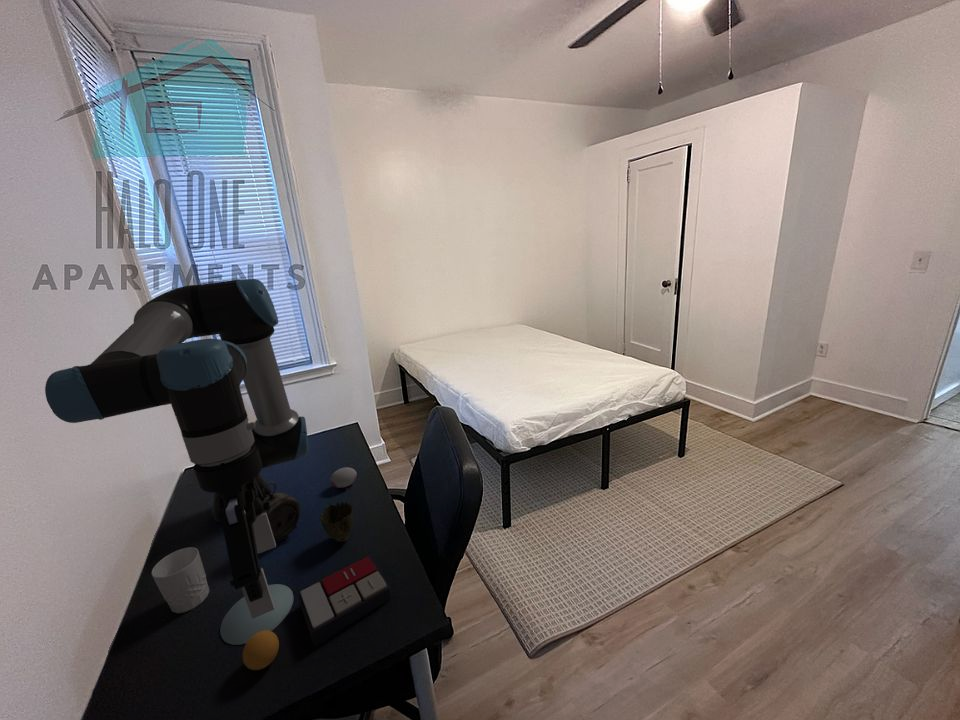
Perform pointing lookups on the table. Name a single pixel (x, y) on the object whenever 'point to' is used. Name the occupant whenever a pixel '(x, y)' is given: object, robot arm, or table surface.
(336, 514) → the dark brown rounded lump
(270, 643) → the ball
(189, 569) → the white cup
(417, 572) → the table surface
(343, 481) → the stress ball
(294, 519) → the alarm clock
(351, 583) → the calculator
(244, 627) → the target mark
